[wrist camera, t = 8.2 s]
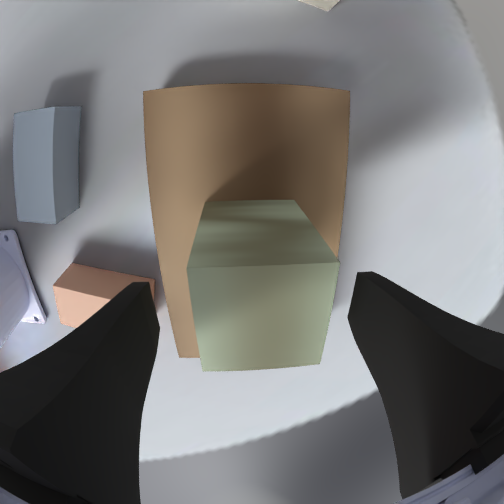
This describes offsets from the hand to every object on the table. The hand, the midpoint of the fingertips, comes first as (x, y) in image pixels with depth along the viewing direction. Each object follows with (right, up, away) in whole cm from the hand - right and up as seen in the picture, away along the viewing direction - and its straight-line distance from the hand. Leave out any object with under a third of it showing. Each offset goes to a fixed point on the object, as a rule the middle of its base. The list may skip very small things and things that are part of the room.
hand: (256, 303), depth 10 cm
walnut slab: (0, +3, +6) cm, 7 cm away
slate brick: (-11, +7, +4) cm, 14 cm away
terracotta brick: (-9, -1, +8) cm, 12 cm away
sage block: (0, +2, +4) cm, 5 cm away
